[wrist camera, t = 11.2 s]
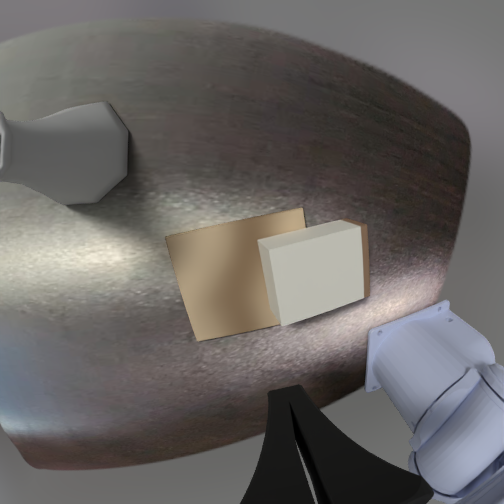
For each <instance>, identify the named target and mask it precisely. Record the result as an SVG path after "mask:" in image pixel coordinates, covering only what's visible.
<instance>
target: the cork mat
mask: <svg viewBox="0 0 504 504" xmlns="http://www.w3.org/2000/svg"><path fill="white" fill-rule="evenodd" d="M304 228H306V227H305V220H304V213H303V208H297V209H291V210H286V211H281V212H276V213H271V214H266V215H261V216H257V217H252V218H247V219H242V220H237V221H233V222H228V223H223V224H219V225H214V226H210V227H205V228H201V229H196V230H192V231H188V232H183V233H179V234H175V235H170V236H166V237H165V239H166V243H167V247H168V250H169V254H170V257H171V261H172V264H173V268H174V271H175V275H176V278H177V281H178V284H179V288H180V291H181V294H182V297H183V300H184V304H185V307H186V310H187V313H188V316H189V319H190V322H191V325H192V328H193V331H194V333H195V336H196V339H197V341H202V340H208V339H213V338H218V337H223V336H228V335H233V334H238V333H243V332H248V331H253V330H257V329H262V328H266V327H270V326H275V325H279V324H280V323H279V321H278V320H277V318H276V317H275V315H274V314H273V312H272V311H271V309H270V305H269V299H268V294H267V289H266V283H265V278H264V273H263V267H262V262H261V257H260V252H259V246H258V241H257V240H259V239H263V238H267V237H271V236H275V235H279V234H283V233H287V232H291V231H296V230H300V229H304Z"/></svg>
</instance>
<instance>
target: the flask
mask: <svg viewBox="0 0 504 504" xmlns="http://www.w3.org/2000/svg"><path fill="white" fill-rule="evenodd" d="M127 157H128V130H127V129H126V127H125V126H124V124H123V123H122V121H121V120H120V119H119V117H118V116H117V114H116V113H115V112H114V110H113V109H112V107H111V106H110V104H109V103H108V102H107V101H104V102H98V103H92V104H87V105H81V106H76V107H72V108H68V109H65V110H62V111H60V112H57V113H55V114H52V115H50V116H47V117H44V118H41V119H38V120H30V121H23V122H22V121H13V120H7V119H5V116H4V114H3V113H2V112H1V111H0V182H10V183H17V184H23V185H25V186H27V187H29V188H31V189H33V190H35V191H38V192H40V193H42V194H44V195H46V196H47V197H49V198H51V199H53V200H54V201H56V202H58V203H60V204H62V205H70V204H86V203H97V202H98V201H99V200H101V199H102V198H103V197H104V196H105V195H106V194H107V193H108V192H109V191H110V190H111V189H112V188H113V187H114V186H116V185H117V184H118V183H119V182H120V181H121V180H122V179H123V178H124V177H126V176H127Z"/></svg>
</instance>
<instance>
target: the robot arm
mask: <svg viewBox="0 0 504 504" xmlns="http://www.w3.org/2000/svg"><path fill="white" fill-rule="evenodd" d="M449 305H450V302H449V301H448V300H444V301H442V302H440V303H437V304H435V305H433V306H430V307H428V308H425V309H423V310H420V311H418V312H415V313H413V314H410V315H408V316H405V317H403V318H400V319H397V320H395V321H392V322H389V323H386V324H384V325H381V326H378V327H375V328H372V329H371V330H370V331H369V332H368V347H367V364H366V378H365V391H366V392H367V393H369V392H372V391H375V390H377V389H380V388H382V387H383V389H384V390H385V392H386V393H387V395H388V396H389V397H390V399H391V401H392V402H393V404H394V405H395V407H396V408H397V410H398V411H399V412H400V414H401V416H402V417H403V418H404V420H405V422H406V423H407V425H408V426H409V428H410V429H411V431H412V432H413V433H414V435H413V437H412V438H411V439H410V440H409V443H410V445H411V446H412V448H413V451H412V452H411V454H410V456H409V460H408V467H409V471H406V470H404V469H401V468H399V467H397V466H394V465H392V464H390V463H388V462H386V461H384V460H383V459H381V458H379V457H377V456H375V455H374V454H372V453H370V452H368V451H367V450H365V449H364V448H362V447H361V446H360V445H358V444H357V443H355V442H354V441H353V440H351V439H350V438H349V437H347V436H346V435H345V434H344V433H343V432H342V431H341V430H339V429H338V428H337V427H336V426H335V425H334V424H333V423H332V422H331V421H330V420H329V419H328V418H327V417H326V416H325V415H324V414H323V413H322V412H321V411H320V410H319V408H318V407H317V406H316V405H315V404H314V402H313V401H312V400H311V399H310V397H309V396H308V395H307V393H306V392H305V390H304V388H303V387H302V385H299V384H298V385H294V386H290V387H286V388H282V389H277V390H272V391H269V392H268V420H267V427H266V433H265V438H264V442H263V447H262V451H261V454H260V458H259V461H258V464H257V467H256V470H255V473H254V475H253V478H252V480H251V482H250V485H249V487H248V489H247V491H246V493H245V495H244V497H243V499H242V501H241V503H240V504H315V502H314V499H313V496H312V493H311V490H310V487H309V484H308V481H307V478H306V475H305V471H304V468H303V465H302V462H301V459H300V456H299V452H298V449H297V445H298V448H299V450H300V452H301V455H302V457H303V460H304V463H305V465H306V468H307V470H308V473H309V475H310V478H311V481H312V484H313V487H314V491H315V495H316V498H317V501H318V504H426V503H427V502H428V501H429V500H430V499H434V500H438V501H441V502H444V503H446V504H504V367H503V366H502V365H500V364H497V363H495V356H494V352H493V350H492V348H491V345H490V344H489V342H488V341H487V339H486V338H485V337H484V336H483V335H482V334H480V333H479V332H478V331H476V330H475V329H474V328H473V327H471V326H470V325H469V324H467V323H466V322H465V321H463V320H462V319H461V318H459V317H458V316H457V315H455V314H454V313H453V312H451V311H450V310H449ZM379 331H380V332H379ZM378 332H379V333H378ZM296 442H297V445H296Z"/></svg>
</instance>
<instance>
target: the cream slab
mask: <svg viewBox="0 0 504 504" xmlns="http://www.w3.org/2000/svg"><path fill="white" fill-rule="evenodd" d="M257 241H258V246H259V252H260V257H261V262H262V267H263V273H264V278H265V283H266V289H267V294H268V299H269V305H270V309H271V311H272V312H273V314H274V315H275V317H276V318H277V320H278V321H279V323H280V324H281V326H285V325H288V324H292V323H295V322H298V321H301V320H304V319H307V318H310V317H313V316H316V315H319V314H322V313H324V312H327V311H330V310H333V309H336V308H338V307H341V306H344V305H347V304H349V303H352V302H355V301H357V300H360V299H363V298H365V297H368V296H370V274H369V249H368V233H367V225H366V224H363V223H360V222H357V221H354V220H350V219H347V218H345V219H341V220H337V221H333V222H329V223H324V224H320V225H316V226H312V227H308V228H304V229H300V230H296V231H291V232H287V233H283V234H279V235H275V236H271V237H267V238H263V239H259V240H257Z"/></svg>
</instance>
